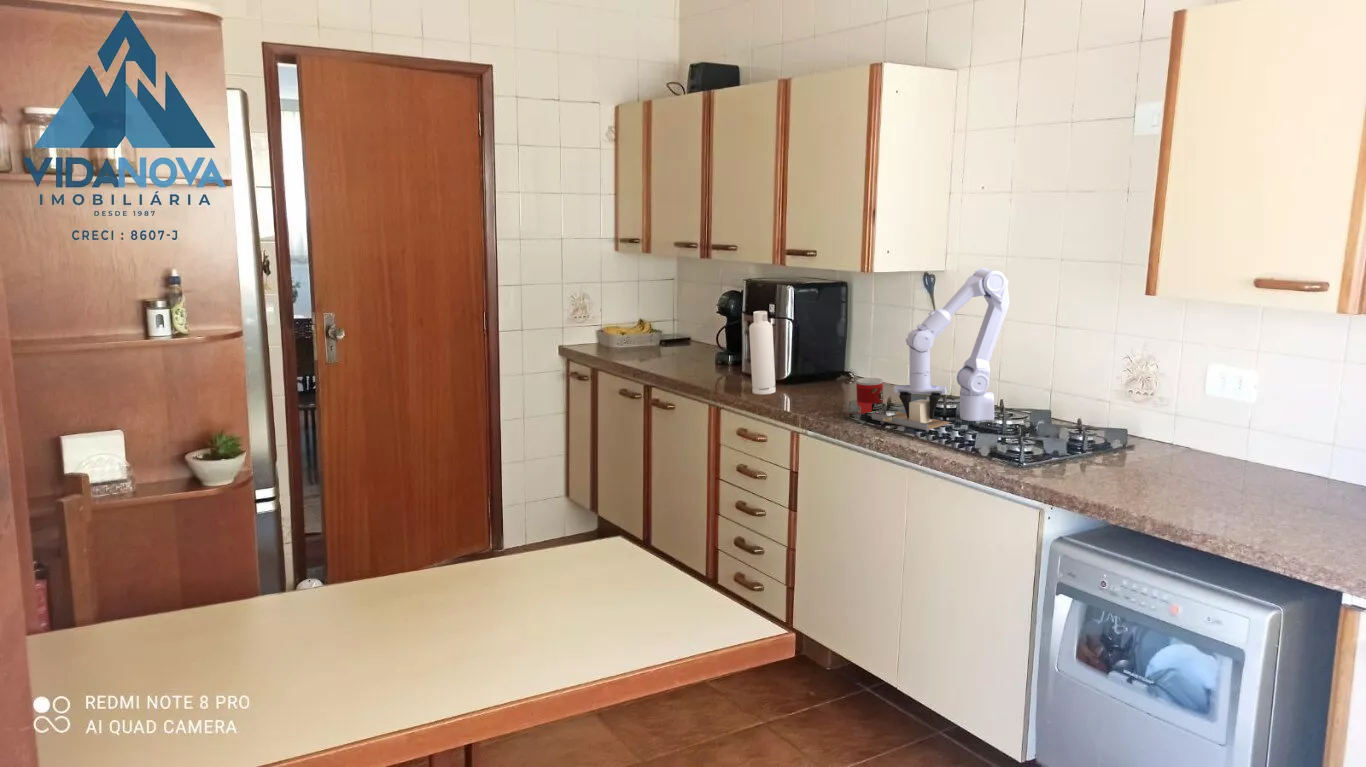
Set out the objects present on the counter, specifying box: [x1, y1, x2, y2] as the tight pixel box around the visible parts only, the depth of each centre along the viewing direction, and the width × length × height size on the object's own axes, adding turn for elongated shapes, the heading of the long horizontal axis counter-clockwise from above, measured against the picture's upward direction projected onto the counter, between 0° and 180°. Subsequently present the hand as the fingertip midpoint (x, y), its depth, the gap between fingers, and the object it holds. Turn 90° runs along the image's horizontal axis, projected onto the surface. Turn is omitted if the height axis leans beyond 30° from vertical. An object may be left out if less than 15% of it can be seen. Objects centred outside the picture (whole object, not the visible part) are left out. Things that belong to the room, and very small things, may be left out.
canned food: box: [855, 377, 884, 415], centre depth 286 cm, size 8×8×11 cm
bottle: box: [748, 310, 776, 395], centre depth 325 cm, size 8×8×28 cm
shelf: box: [871, 411, 952, 432], centre depth 273 cm, size 20×11×3 cm, turn 37°
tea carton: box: [909, 398, 932, 423], centre depth 270 cm, size 5×4×6 cm
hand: (920, 417), depth 270 cm, fingers closed on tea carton, 6 cm apart
